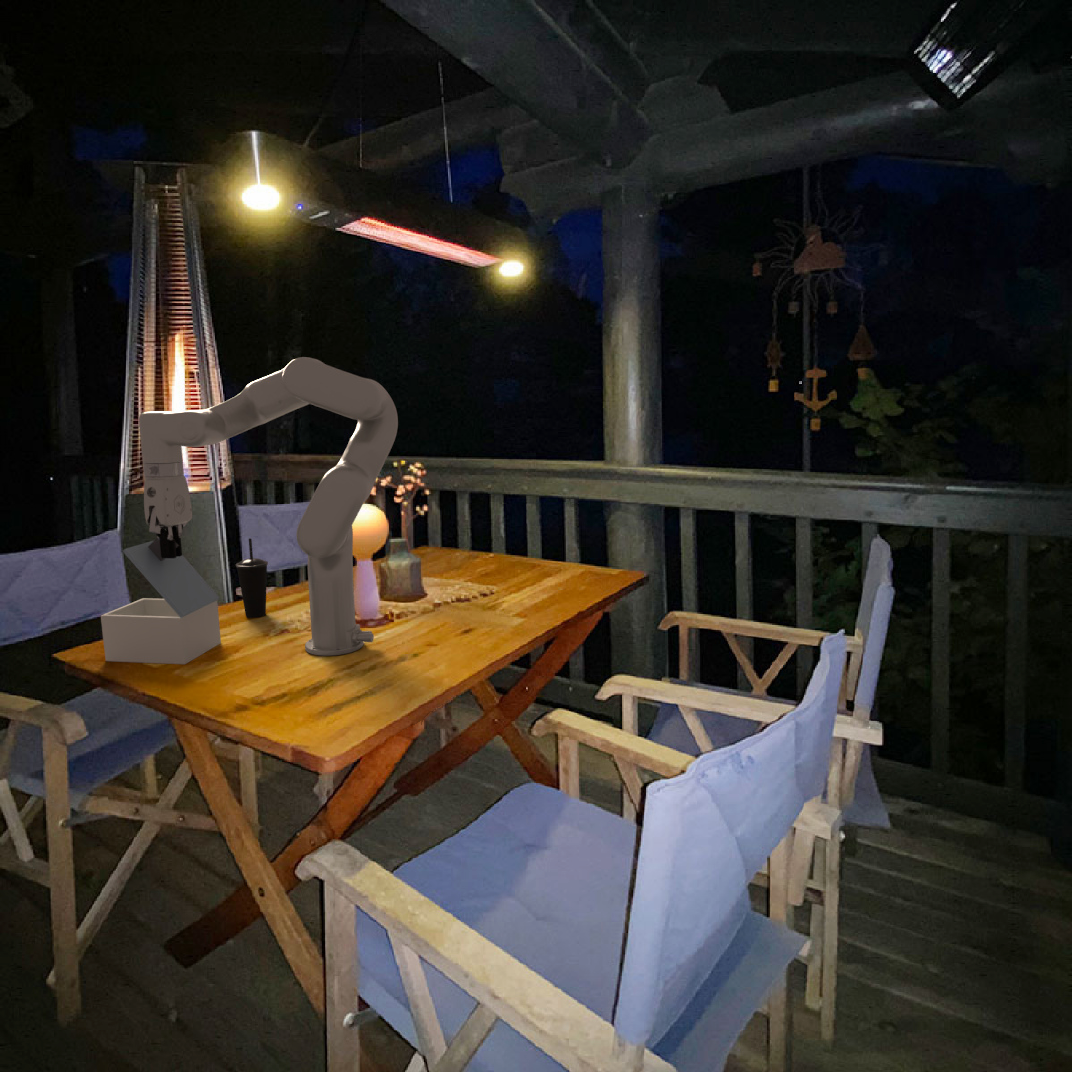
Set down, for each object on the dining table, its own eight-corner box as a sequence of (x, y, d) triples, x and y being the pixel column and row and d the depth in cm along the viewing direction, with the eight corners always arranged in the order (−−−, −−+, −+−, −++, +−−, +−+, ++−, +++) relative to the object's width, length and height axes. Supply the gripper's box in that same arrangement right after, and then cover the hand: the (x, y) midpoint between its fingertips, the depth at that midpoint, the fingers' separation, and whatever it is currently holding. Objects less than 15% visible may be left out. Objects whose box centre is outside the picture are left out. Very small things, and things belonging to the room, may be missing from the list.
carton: (220, 642, 170) (217, 600, 168) (185, 664, 157) (180, 618, 155) (147, 640, 172) (143, 598, 171) (105, 661, 159) (100, 615, 157)
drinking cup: (238, 620, 187) (232, 542, 184) (241, 612, 195) (235, 536, 191) (270, 618, 189) (264, 540, 186) (272, 610, 197) (267, 535, 193)
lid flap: (217, 600, 168) (234, 584, 167) (180, 618, 155) (199, 601, 154) (164, 538, 167) (181, 522, 166) (122, 551, 154) (140, 533, 152)
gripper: (157, 474, 149) (166, 565, 152) (201, 467, 164) (208, 550, 167) (122, 474, 150) (132, 564, 153) (169, 467, 165) (177, 549, 168)
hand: (171, 556), depth 160 cm, fingers closed
